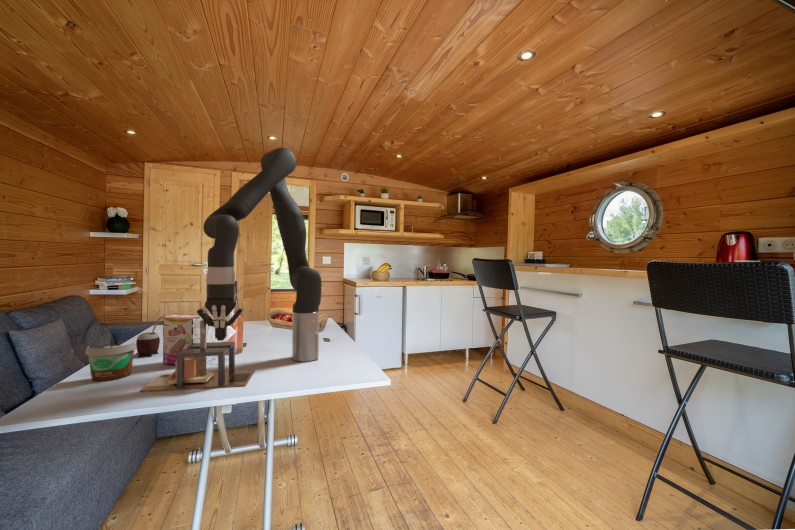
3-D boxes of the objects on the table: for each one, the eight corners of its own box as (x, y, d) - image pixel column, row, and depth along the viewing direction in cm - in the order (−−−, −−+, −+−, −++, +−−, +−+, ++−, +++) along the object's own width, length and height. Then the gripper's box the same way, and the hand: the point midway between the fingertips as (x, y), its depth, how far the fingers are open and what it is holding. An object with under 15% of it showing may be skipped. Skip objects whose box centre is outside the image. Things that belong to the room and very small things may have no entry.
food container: (78, 385, 98) (78, 350, 98) (86, 379, 104) (85, 345, 103) (132, 379, 104) (132, 346, 104) (136, 373, 109) (136, 341, 109)
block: (200, 372, 105) (200, 356, 105) (194, 378, 100) (194, 360, 100) (182, 373, 104) (182, 356, 104) (175, 378, 99) (175, 361, 99)
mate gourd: (134, 355, 128) (134, 315, 128) (159, 351, 134) (159, 312, 134) (139, 359, 124) (139, 317, 123) (165, 354, 130) (165, 314, 129)
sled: (214, 373, 107) (214, 318, 107) (206, 381, 100) (206, 322, 100) (178, 375, 105) (178, 319, 105) (168, 384, 98) (167, 323, 98)
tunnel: (255, 371, 112) (255, 340, 112) (245, 386, 99) (245, 351, 99) (162, 375, 107) (162, 343, 107) (139, 392, 94) (139, 355, 94)
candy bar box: (161, 365, 117) (161, 316, 117) (172, 360, 122) (172, 314, 122) (192, 366, 116) (192, 317, 116) (202, 362, 121) (202, 315, 121)
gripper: (247, 281, 108) (247, 336, 109) (201, 281, 106) (201, 337, 106) (241, 283, 101) (241, 342, 101) (191, 283, 98) (191, 343, 99)
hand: (220, 339), depth 104 cm, fingers closed
